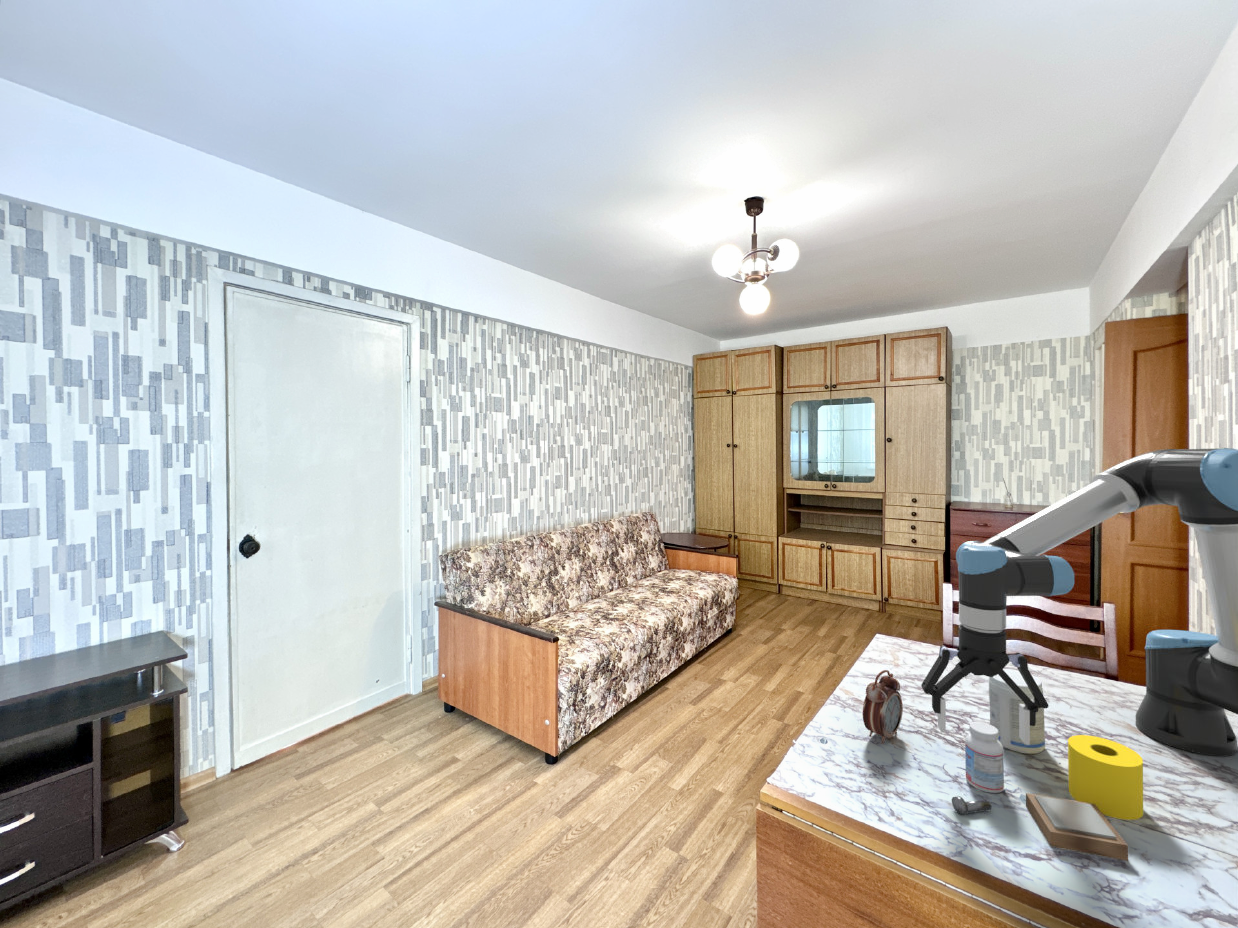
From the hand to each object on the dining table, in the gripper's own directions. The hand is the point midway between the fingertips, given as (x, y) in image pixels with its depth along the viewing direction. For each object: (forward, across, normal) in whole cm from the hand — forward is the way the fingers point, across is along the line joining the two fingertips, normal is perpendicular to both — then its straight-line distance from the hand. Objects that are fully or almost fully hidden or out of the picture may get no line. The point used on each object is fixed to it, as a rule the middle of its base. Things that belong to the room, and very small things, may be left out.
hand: (982, 734), depth 100 cm
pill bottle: (+10, 0, 0) cm, 10 cm away
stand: (+10, -10, +10) cm, 17 cm away
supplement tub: (+10, -11, -18) cm, 24 cm away
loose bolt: (+10, +4, +9) cm, 14 cm away
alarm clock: (+10, +16, -13) cm, 23 cm away
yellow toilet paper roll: (+10, -19, -1) cm, 22 cm away
